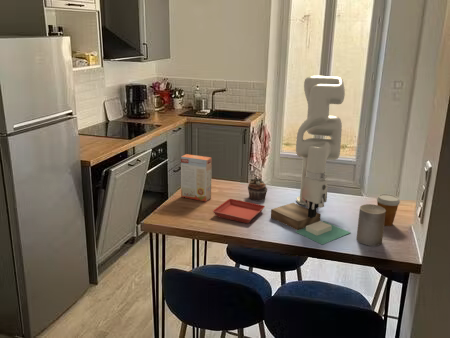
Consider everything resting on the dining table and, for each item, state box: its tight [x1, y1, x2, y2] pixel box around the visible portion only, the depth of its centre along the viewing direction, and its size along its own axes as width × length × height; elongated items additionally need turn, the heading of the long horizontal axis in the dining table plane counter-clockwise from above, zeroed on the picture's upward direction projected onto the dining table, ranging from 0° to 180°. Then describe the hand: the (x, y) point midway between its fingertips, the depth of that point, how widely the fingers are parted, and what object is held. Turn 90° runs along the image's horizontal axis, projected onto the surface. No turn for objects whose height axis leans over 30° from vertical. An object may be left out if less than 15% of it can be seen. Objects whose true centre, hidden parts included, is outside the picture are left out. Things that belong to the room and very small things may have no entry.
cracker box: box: [180, 153, 213, 202], centre depth 209 cm, size 14×6×21 cm, turn 65°
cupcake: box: [247, 177, 268, 201], centre depth 213 cm, size 10×10×10 cm
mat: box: [294, 221, 351, 245], centre depth 177 cm, size 18×14×1 cm
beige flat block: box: [306, 220, 332, 235], centre depth 178 cm, size 9×6×2 cm, turn 128°
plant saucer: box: [212, 198, 265, 224], centre depth 193 cm, size 18×18×3 cm
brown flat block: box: [270, 202, 321, 231], centre depth 188 cm, size 14×16×4 cm
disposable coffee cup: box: [376, 193, 401, 227], centre depth 187 cm, size 10×10×12 cm
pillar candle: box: [356, 203, 386, 247], centre depth 169 cm, size 10×10×15 cm
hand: (311, 216), depth 181 cm, fingers closed
